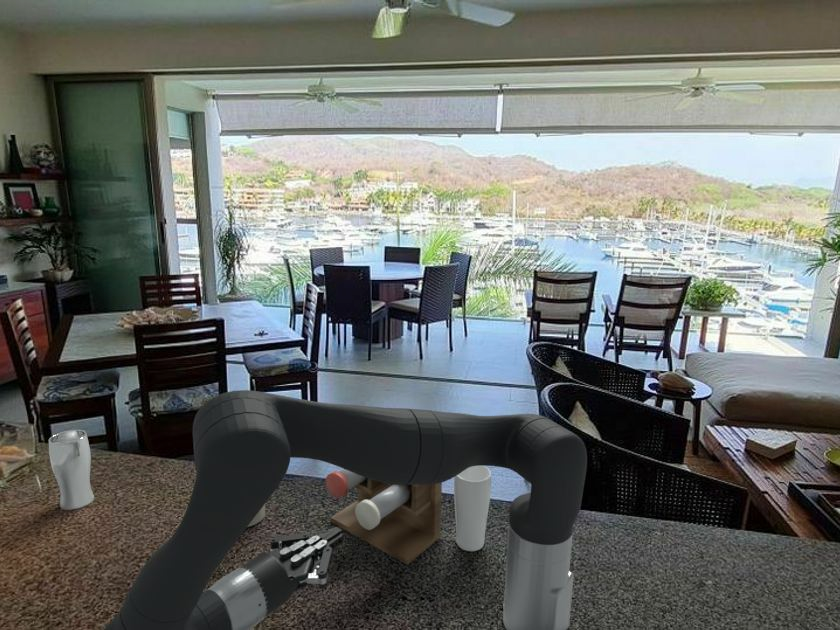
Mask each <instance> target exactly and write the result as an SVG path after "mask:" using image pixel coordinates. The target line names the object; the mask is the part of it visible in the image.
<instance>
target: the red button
mask: <svg viewBox="0 0 840 630" xmlns="http://www.w3.org/2000/svg"><path fill="white" fill-rule="evenodd" d="M366 479H368V478H366V477H363V476H360V475H358V474H355V473H353V472H350V471H348V470H346V469H343V468H342V469H341V470H340V471H336V470H334V471H331V472H330V473H329V474H327V475H326V477H325V485H326V489H327V491H328V493H329V494H330V495H331V496H332V497H333V498H335V499H340V498H342V497H344V496H346V495H347V494H348V491H349V490H351V489H352V488H355V487H354V486H356V485H358V484H359V483H361V482H363V481H364V480H366Z"/></svg>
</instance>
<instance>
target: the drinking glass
mask: <svg viewBox="0 0 840 630" xmlns="http://www.w3.org/2000/svg"><path fill="white" fill-rule="evenodd" d="M453 478H454V479H453V500H454V513H455V514H454V515H455V531H456V533H455V541H456V544H457V546H458V547H459V548H460V549H462V550H463V551H467V552H476V551H479V550H481V549H483V547H484V545H485V540H486V539H485V538H486V529H487V521H488V514H489V508H490V501H491V492H492V472H491V470H490V469H489V468H488V467H487V466H472V467H469V468H467V469H466V470H464V471H463V472H461V473H460V474H458V475H457V476H455V477H453Z"/></svg>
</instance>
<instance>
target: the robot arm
mask: <svg viewBox="0 0 840 630" xmlns="http://www.w3.org/2000/svg"><path fill="white" fill-rule="evenodd" d="M194 416H195V417H194V419H193V423H192V424H193V425H192V440H193V441H192V443H193V457H194V458H193V460H194V467H195V471H196V477H195V480H194V485H193V489H192V492H191V494H190V499H189V502H188V503H187V506H186V507H187V508H186V511H185V513H184V515H183V517H182V519H181V521H180V523H179V524H178V527H177V529H176V530H175V531H174V533H173V534H172V535H171V537H170V538H169V539H167V541H165V543H163V544H162V545H161V546H160V547H159V548H157V550H156V551H154V552H153V553H152V554H151V556H150V557H149V558H148V560H146V562H145V564H144V565H143V567H142V568H141V570H140V572H139V573H138V575H137V577H136V579H135V580H134V582H133V584H132V587H131V588H130V590H129V591H128V594H127V596H126V598H125V600H124V602H123V604H122V606H121V607H120V611H119V612H118V613H117V614H116V615H115V616H114V617H113V618H112V619H111V620H110V622H109V623H107V625H106V626H105V627H104V628H103V630H251V629H252V628H253V627H254V626H256V625H257V624H259V623H261V621H263V620H264V619H266V618H267V617H268V616H270V615H271V614H273V613H274V612H275V611H277V610H278V609H280V608H282V606H284V605H285V604H286V603H288V602H289V600H290V599H291V597H292V595H293V594H294V593H295V592H296V591H299V590H302V589H304V588H306V587H307V586H308V585H309V584H311V585H312V584H315V585H316V584H317V586H318V588H319V590H325V589H326V588H327V587H328V583H329V581H330V580H329V579H330V575H331V571H332V565H333V551H334V550H335V549H337V548H338V547H339V546H342V545H343V543H344V539H345V536H344V535H345V533H344V531H345V530H344V529H343V528H341V527H339V526H334V527H332V528H328V530H325V531H324V532H323V533H321V534H320V535H313V536H310V534H309V533H308V532H303V533H297V534H291V535H290V534H289V535H282V536H281V535H280V536H275V537H271V538H270V539H269V551H268V552H262V553H260V554H259V555H257V556H255V557H254V558H252V559H250V560H249V561H248V562H246V563H244V564H242V565H241V566H239V567H237V568H236V569H234V570H233V571H231V572H229V573H228V574H226V575H224V576H223V577H221V578H220V579H218V580H217V581H216V582H214V583H213V584H212V585H211V586H210V587H209V588H207V589H206V590H205V588H206V587H207V585H208V583H209V582H210V580H211V579H212V577H213V575H214V574H215V572H216V570H217V569H218V567H219V566H220V565H221V563H222V562H223V560H224V559H225V558H226V556H227V554H228V553H229V552H230V551H231V549H232V548H233V546H234V545H235V544H236V542H237V541H238V540H239V539H240V537H241V535H242V534H243V533H244V532H245V531H246V529H248V527H247V526H248V525H249V524H250V522H251V521H252V520H253V519H254V517H255V516H256V515H257V513H258V512H259V511H260V510H261V508H262V507H263V506H264V505H265V504H266V503H267V502H268V500H269V499H270V498H271V497H272V495H273V494H274V493H275V491H276V490H277V489H278V487H279V485H280V484H281V482H282V481H283V479H284V478H285V476H286V474H287V472H288V470H289V466H290V462H291V458H293V459H296V458H297V459H308V460H309V459H310V460H315V461H320V462H325V463H328V464H331V465H333V466H336V467H338V468H341V469H342V470H343V469H346V470H348V471H350V472H353V473H355V474H358V475H360V476H363V477H366V478H369V479H372V480H375V481H378V482H382V483H386V484H394V485H428V484H438V483H442V484H443V483H444V482H446V481H450V480H451V479H453V478H454V477H455V476H457V475H458V474H460V473H461V472H463V471H464V470H466V469H467V468H469V467H472V466H485V467H497V468H505V469H508V470H511V471H512V472H515V473H516V474H518V475H519V476H520V477H521V478H523V479H524V480H525V481H526V482H527V483H529V484H530V492H528V493H522V494H521V495H519V496H517V497H515V498H514V499H513V500H512V502H511V504H510V507H509V510H508V511H509V513H508V514H509V515H508V528H507V533H508V534H507V546H506V547H507V548H506V559H505V560H506V561H505V562H506V564H505V580H504V595H503V598H504V600H503V609H502V610H503V615H502V619H503V620H502V621H503V625H504V628H505V630H568V628H569V627H570V617H571V609H572V608H571V606H572V599H573V587H574V586H573V585H574V577H575V576H574V573H573V572H572V571H570V567H571V566H570V565H571V556H572V555H571V554H572V544H573V542H572V541H573V535H574V534H573V531H574V525H575V522H576V521H577V519H578V516H579V515H580V511H581V508H582V507H581V506H582V500H583V495H584V487H585V482H586V476H587V475H586V474H587V469H588V468H587V467H588V453H587V448H586V445H585V442H584V441H583V439H582V438H581V437H580V436H578V435H577V434H575V433H574V432H573V431H570V430H569V429H567V428H566V427H563V426H562V425H560V424H558V423H556V422H555V421H553V420H552V419H550V418H548V417H546V416H544V415H540V414H535V413H519V414H517V413H516V414H502V415H477V414H470V413H469V414H467V413H459V412H450V411H448V412H447V411H436V410H431V409H421V408H419V409H418V408H417V409H416V408H406V407H405V408H403V407H401V408H399V407H382V406H381V407H380V406H369V405H357V404H339V403H327V402H321V401H320V402H318V401H313V400H308V399H302V398H297V397H292V396H291V397H290V396H285V395H279V394H277V393H275V394H274V393H269V392H265V391H258V390H257V391H256V390H249V389H244V390H232V391H227V392H223V393H220V394H217V395H216V396H214V397H212V398H210V399H209V400H207V401H206V402H205V403H204V404H203V405H201V406H200V408H199V409H198V411H197V412H196V414H195V415H194ZM265 506H266V505H265Z"/></svg>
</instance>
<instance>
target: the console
mask: <svg viewBox="0 0 840 630" xmlns="http://www.w3.org/2000/svg"><path fill="white" fill-rule="evenodd" d="M392 485H394V484H386V483H382V482H378V481H375V480H372V479H369V478H368V479H366V480H364V481H363V482H361V483H359V484H358V485H356V486H354V487H353V488H357V489H358V490H357V491H358V500H356V501H355V502H353V503H351V504H350V505H348V506H347V507H345V508H343V509H342V510H340V511H338V512H337V513H336V514H333V515H332V516H330V523H332V524H334V525H336V527H338V528H340V529H342V530H343V531H347V532H348V533H350V534H351V535H353V536H355V537H357V538H359V539H361V540H362V541H364V542H366V543H367V544H369V545H371V546H373V547H375V548H377V549H378V550H380V551H382V552H384V553H385V554H387V555H388V556H391V557H393V558H395V559H397V560H398V561H400V562H401V563H403V564H405V565H409V564H410V563H411V562H413V561H414V560H415V559H416V558H417V557H419V556H420V555H422V553H423V552H425V551H426V550H427V549H428V548H429V547H430V546H432V545H433V544H434V543H435V542H436V541H438V540H439V539H440V538H441V531H442V530H441V528H442V527H441V526H442V525H441V524H442V522H441V521H442V493H443V491H442V488H443V486H442V485H443V482H442V483H438V484H428V485H407V486H408V487H409V489H410V492H411V497H410V499H409V500H408V501H407V502H405V503H404V504H402V505H401V506H399V507H398V508H397V509H395V510H394V511H392V512H391V513H389V514H388V515H386V516H385V517H384V518H382V519H381V520H380V523H379V524H378V525H377V526H376V527H375V528H373V529H371V530H368V529H365V528H364V527H362V526H361V525H360V523H359V522H358V520H357V518H356V514H355V508H356V505H357V504H358V503H360V502H361V501H363V500H366V499H367V500H370V499H372V498H373V497H375V496H376V495H378V494H379V493H381V492H383V491H384V490H386V489H387V488H389V487H390V486H392Z"/></svg>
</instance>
